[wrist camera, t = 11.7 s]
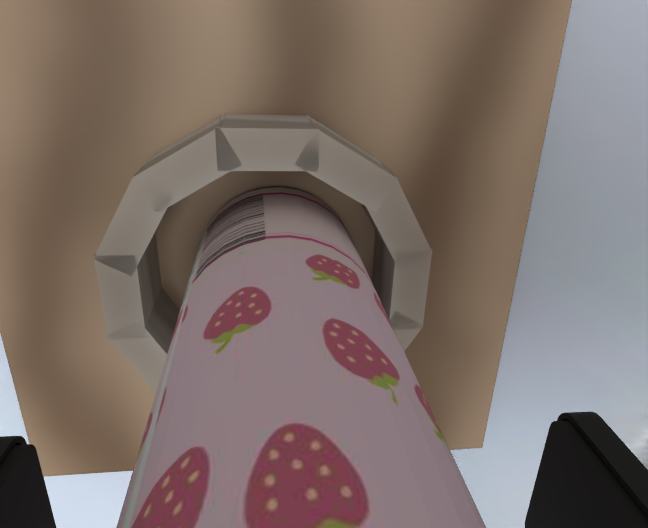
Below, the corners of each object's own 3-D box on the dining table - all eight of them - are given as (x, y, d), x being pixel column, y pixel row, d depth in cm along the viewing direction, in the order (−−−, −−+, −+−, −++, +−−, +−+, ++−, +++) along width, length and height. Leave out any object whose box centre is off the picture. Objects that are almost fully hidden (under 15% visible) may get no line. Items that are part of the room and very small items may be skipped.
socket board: (562, -32, 17) (644, -52, 13) (473, 432, 25) (510, 499, 21) (-84, -67, 15) (-197, -104, 11) (46, 459, 22) (6, 539, 19)
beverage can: (318, 340, 20) (437, 930, 7) (180, 300, 19) (-21, 945, 5) (375, 215, 19) (694, 682, 5) (226, 161, 17) (99, 605, 4)
